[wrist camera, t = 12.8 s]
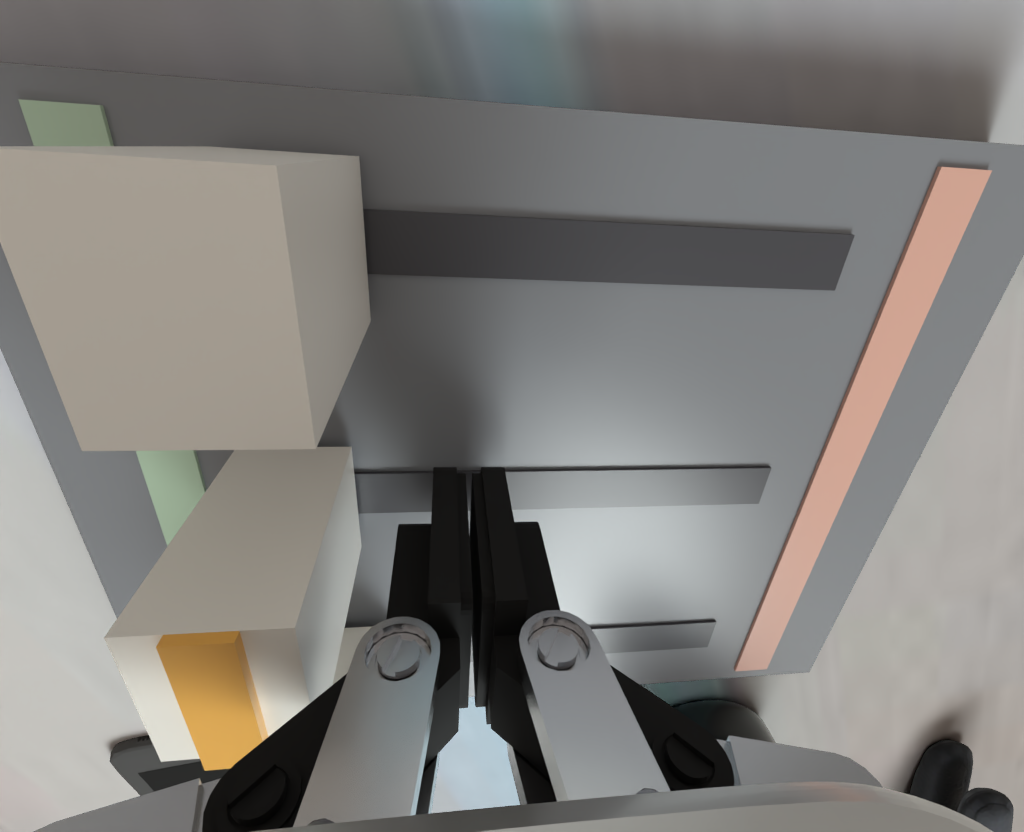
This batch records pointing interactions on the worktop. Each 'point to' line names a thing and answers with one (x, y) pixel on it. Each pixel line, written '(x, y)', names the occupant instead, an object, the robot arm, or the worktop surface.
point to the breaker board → (592, 343)
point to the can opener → (960, 786)
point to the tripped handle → (244, 605)
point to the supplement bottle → (726, 719)
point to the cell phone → (155, 767)
